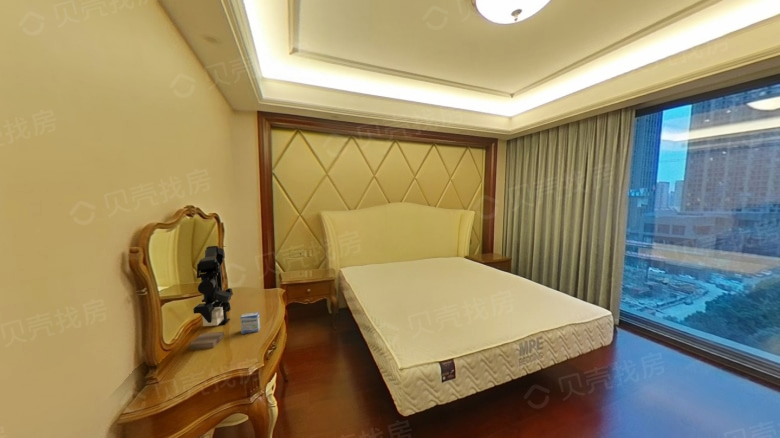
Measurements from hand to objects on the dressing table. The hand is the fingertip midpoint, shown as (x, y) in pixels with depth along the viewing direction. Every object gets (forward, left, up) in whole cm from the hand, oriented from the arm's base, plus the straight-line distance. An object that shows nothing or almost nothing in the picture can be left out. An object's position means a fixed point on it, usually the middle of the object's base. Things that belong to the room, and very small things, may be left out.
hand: (213, 319), depth 128 cm
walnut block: (-1, -4, -12) cm, 13 cm away
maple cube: (0, 0, -2) cm, 2 cm away
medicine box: (-10, +12, -12) cm, 20 cm away
